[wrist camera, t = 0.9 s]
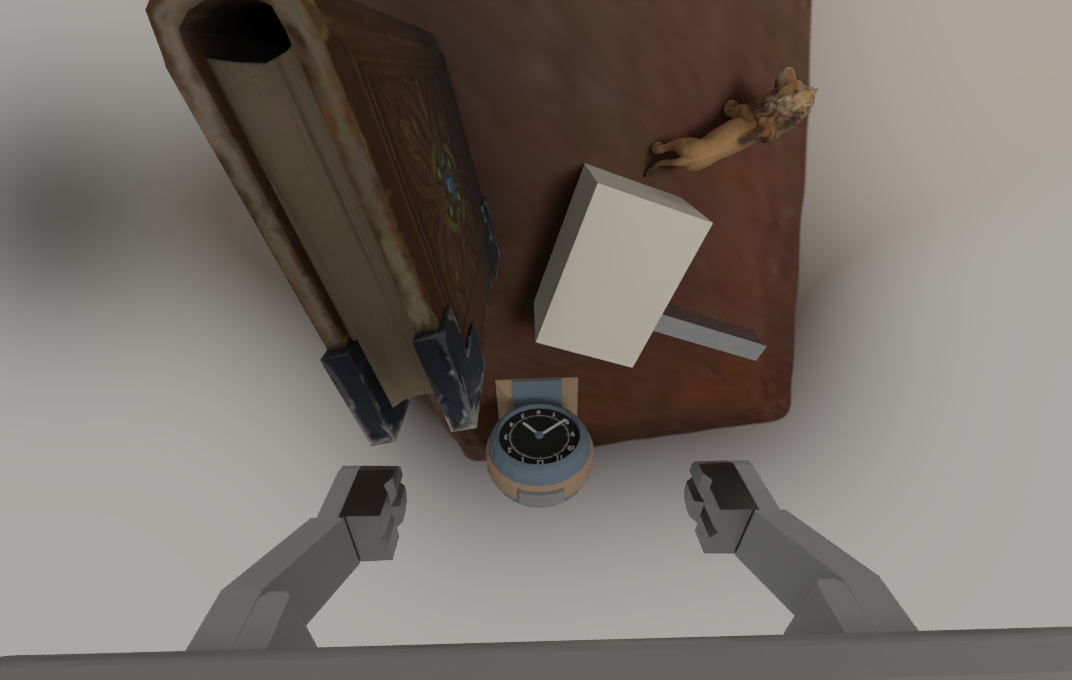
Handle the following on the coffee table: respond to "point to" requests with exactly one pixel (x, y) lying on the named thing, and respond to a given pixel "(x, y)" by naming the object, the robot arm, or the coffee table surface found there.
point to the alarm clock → (539, 441)
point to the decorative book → (350, 187)
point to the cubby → (615, 266)
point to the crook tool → (710, 332)
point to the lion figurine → (744, 125)
